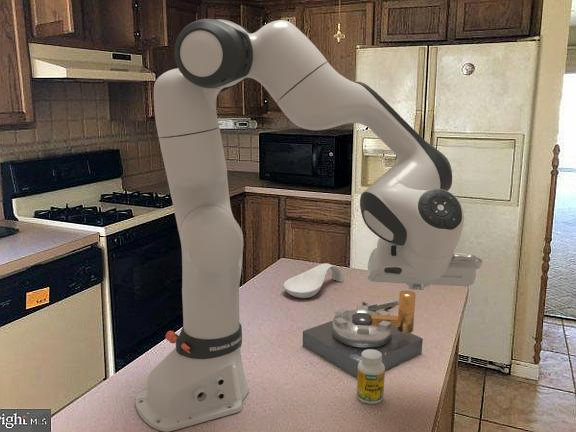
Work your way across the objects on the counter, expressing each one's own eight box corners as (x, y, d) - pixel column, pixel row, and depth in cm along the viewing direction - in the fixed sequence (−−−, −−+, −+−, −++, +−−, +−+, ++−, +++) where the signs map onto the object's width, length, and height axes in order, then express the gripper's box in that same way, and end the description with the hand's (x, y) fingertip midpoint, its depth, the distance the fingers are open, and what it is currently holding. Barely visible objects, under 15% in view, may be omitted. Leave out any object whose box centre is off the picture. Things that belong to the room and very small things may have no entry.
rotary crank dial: (331, 345, 116) (332, 301, 114) (333, 319, 130) (334, 279, 127) (416, 350, 114) (419, 305, 112) (409, 324, 128) (412, 283, 125)
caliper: (362, 326, 137) (363, 304, 135) (358, 325, 137) (359, 303, 136) (399, 304, 152) (401, 284, 150) (396, 303, 152) (397, 283, 151)
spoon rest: (304, 306, 150) (305, 282, 148) (275, 295, 157) (275, 273, 156) (352, 285, 167) (352, 263, 165) (323, 276, 174) (324, 256, 173)
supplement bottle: (377, 388, 107) (379, 346, 105) (387, 403, 102) (390, 358, 100) (352, 391, 106) (354, 348, 104) (362, 406, 101) (364, 361, 98)
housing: (362, 381, 109) (363, 363, 108) (302, 346, 125) (302, 330, 124) (421, 354, 121) (422, 337, 120) (360, 324, 137) (361, 310, 136)
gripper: (482, 241, 94) (466, 274, 106) (369, 237, 96) (366, 270, 108) (486, 273, 91) (469, 303, 102) (369, 267, 93) (366, 298, 105)
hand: (415, 286), depth 105 cm, fingers closed
